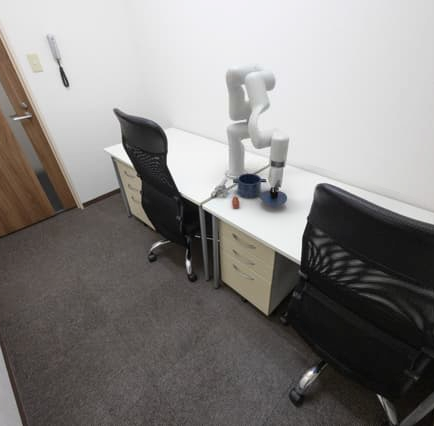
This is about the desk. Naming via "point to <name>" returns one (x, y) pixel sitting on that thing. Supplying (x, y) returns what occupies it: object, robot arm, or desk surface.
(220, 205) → the desk surface
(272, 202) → the lid
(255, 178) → the pot
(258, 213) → the desk surface
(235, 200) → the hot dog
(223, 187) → the tablet stand
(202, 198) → the desk surface
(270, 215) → the desk surface
